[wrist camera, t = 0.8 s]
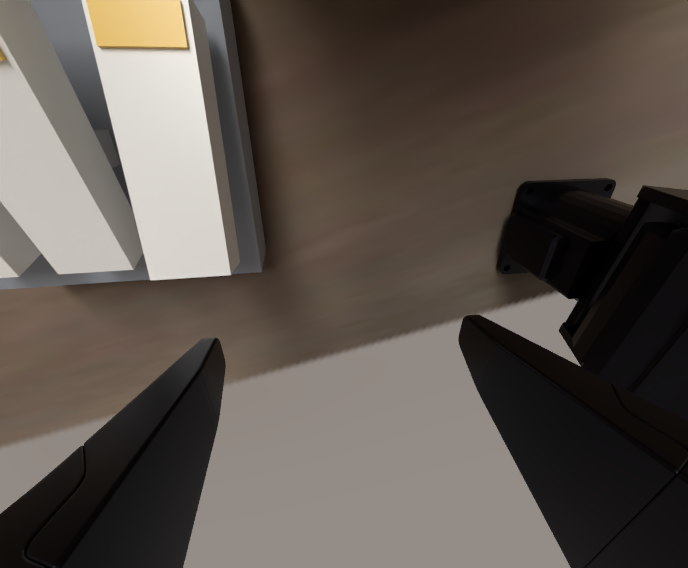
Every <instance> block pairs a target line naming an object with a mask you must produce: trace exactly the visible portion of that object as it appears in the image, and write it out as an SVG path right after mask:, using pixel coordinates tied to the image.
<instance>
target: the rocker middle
mask: <svg viewBox="0 0 688 568" xmlns="http://www.w3.org/2000/svg"><path fill="white" fill-rule="evenodd" d="M0 201H1V203H2V204H3V205H4V206H5V208H6V209H7V210H8V212H9V213H10V214H11V215H12V217H13V218H14V219H15V220H16V222H17V223H18V224H19V225H20V227H21V228H22V229H23V230H24V232H25V233H26V234H27V235H28V237H29V238H30V239H31V241H32V242H33V243H34V244H35V246H36V247H37V248H38V249H39V251H40V252H41V253H42V254H43V256H44V257H45V258H46V259H47V261H48V262H49V263H50V265H51V266H52V267H53V268H54V270H55V271H56V272H57V273H58V274H74V273H90V272H106V271H122V270H134V268H135V267H136V265H137V263H138V261H139V259H140V258H141V256H142V254H143V249H142V245H141V241H140V237H139V233H138V229H137V224H136V220H135V216H134V212H133V210H132V208H131V206H130V204H129V202H128V200H127V198H126V196H125V194H124V192H123V190H122V188H121V186H120V184H119V182H118V180H117V178H116V176H115V173H114V171H113V169H112V167H111V165H110V163H109V161H108V159H107V157H106V155H105V153H104V151H103V149H102V147H101V145H100V143H99V141H98V139H97V137H96V135H95V132H94V130H93V128H92V126H91V124H90V122H89V120H88V118H87V116H86V114H85V112H84V110H83V108H82V106H81V104H80V102H79V100H78V98H77V96H76V94H75V91H74V89H73V87H72V85H71V83H70V81H69V79H68V77H67V75H66V73H65V71H64V69H63V67H62V65H61V63H60V61H59V59H58V57H57V55H56V52H55V50H54V48H53V46H52V44H51V42H50V40H49V38H48V36H47V34H46V32H45V30H44V28H43V26H42V24H41V22H40V20H39V18H38V16H37V14H36V11H35V9H34V7H33V5H32V3H31V1H30V0H0Z"/></svg>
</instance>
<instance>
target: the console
mask: <svg viewBox="0 0 688 568" xmlns="http://www.w3.org/2000/svg"><path fill="white" fill-rule="evenodd" d="M30 1H31V3H32V5H33V7H34V9H35V11H36V14H37V16H38V18H39V20H40V22H41V24H42V26H43V28H44V30H45V32H46V34H47V36H48V38H49V40H50V42H51V44H52V46H53V48H54V50H55V52H56V55H57V57H58V59H59V61H60V63H61V65H62V67H63V69H64V71H65V73H66V75H67V77H68V79H69V81H70V83H71V85H72V87H73V89H74V91H75V94H76V96H77V98H78V100H79V102H80V104H81V106H82V108H83V110H84V112H85V114H86V116H87V118H88V120H89V122H90V124H91V126H92V128H93V130H94V132H95V135H96V137H97V139H98V141H99V143H100V145H101V147H102V149H103V151H104V153H105V155H106V157H107V159H108V161H109V163H110V165H111V167H112V169H113V171H114V173H115V176H116V178H117V180H118V182H119V184H120V186H121V188H122V190H123V192H124V194H125V196H126V198H127V200H128V202H129V204H130V206H131V208H132V204H131V200H130V196H129V192H128V188H127V184H126V180H125V176H124V172H123V168H122V164H121V160H120V155H119V151H118V147H117V143H116V139H115V135H114V131H113V127H112V123H111V119H110V115H109V111H108V107H107V103H106V99H105V95H104V91H103V86H102V82H101V78H100V74H99V70H98V66H97V62H96V58H95V54H94V50H93V46H92V42H91V38H90V34H89V30H88V26H87V21H86V17H85V13H84V9H83V5H82V1H81V0H30ZM193 2H194V3H195V5H196V6H197V8H198V10H199V11H200V13H201V15H202V16H203V18H204V20H205V22H206V29H207V36H208V43H209V50H210V57H211V64H212V71H213V78H214V85H215V91H216V98H217V105H218V112H219V119H220V126H221V133H222V140H223V147H224V154H225V161H226V168H227V175H228V182H229V189H230V196H231V202H232V209H233V216H234V223H235V230H236V237H237V244H238V251H239V258H240V263H239V265H238V266H237V267H236V269H235V270H234V272H233V273H232V274H243V273H258V272H262V269H263V264H264V258H265V253H266V246H265V239H264V232H263V225H262V218H261V211H260V204H259V197H258V190H257V183H256V176H255V169H254V162H253V155H252V148H251V141H250V134H249V128H248V121H247V114H246V107H245V100H244V93H243V86H242V79H241V72H240V65H239V58H238V51H237V44H236V37H235V30H234V23H233V16H232V9H231V2H230V0H193ZM132 210H133V208H132ZM137 280H150V277H149V273H148V269H147V265H146V261H145V257H144V253H143V254H142V256H141V258H140V259H139V261H138V263H137V265H136V267H135V268H134V270H122V271H106V272H90V273H74V274H58V273H57V272H56V271H55V270H54V268H53V267H52V266H51V265H50V263H49V262H48V261H47V259H46V258H45V257H44V256H43V254H42V253H41V254H40V255H39V256H38V258H37V259H36V260H35V261H34V262H33V263H32V264H31V265H30V266H29V267H28V268H27V269H26V270H25V271H24V272H23V273H22V274H21V276H20V277H9V278H0V289H15V288H31V287H46V286H61V285H76V284H91V283H106V282H121V281H137Z"/></svg>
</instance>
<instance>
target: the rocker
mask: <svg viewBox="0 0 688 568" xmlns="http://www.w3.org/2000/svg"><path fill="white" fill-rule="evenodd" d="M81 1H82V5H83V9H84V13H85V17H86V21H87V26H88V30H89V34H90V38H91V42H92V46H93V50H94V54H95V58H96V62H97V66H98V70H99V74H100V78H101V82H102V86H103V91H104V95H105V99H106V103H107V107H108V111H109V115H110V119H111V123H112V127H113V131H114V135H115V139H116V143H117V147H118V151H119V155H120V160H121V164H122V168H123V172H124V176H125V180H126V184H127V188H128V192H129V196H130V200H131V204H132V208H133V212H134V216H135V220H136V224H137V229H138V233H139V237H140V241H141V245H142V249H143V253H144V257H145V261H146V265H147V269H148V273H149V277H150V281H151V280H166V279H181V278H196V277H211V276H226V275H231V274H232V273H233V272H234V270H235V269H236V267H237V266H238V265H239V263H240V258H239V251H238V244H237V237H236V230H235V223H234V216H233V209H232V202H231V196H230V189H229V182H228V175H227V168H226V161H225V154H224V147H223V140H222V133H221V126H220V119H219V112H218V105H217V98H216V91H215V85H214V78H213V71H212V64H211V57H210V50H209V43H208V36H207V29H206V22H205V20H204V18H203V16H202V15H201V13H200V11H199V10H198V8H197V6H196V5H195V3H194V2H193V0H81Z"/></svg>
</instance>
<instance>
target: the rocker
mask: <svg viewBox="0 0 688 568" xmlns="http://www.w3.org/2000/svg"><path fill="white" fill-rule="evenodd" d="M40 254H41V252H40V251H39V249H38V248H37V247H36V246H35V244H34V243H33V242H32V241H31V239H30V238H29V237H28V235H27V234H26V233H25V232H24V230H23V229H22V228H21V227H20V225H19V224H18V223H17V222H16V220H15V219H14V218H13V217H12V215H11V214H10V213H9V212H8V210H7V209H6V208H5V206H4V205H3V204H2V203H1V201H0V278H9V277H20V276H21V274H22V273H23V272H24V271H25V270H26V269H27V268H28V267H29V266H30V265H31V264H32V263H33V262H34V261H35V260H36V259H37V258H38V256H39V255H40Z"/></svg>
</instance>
